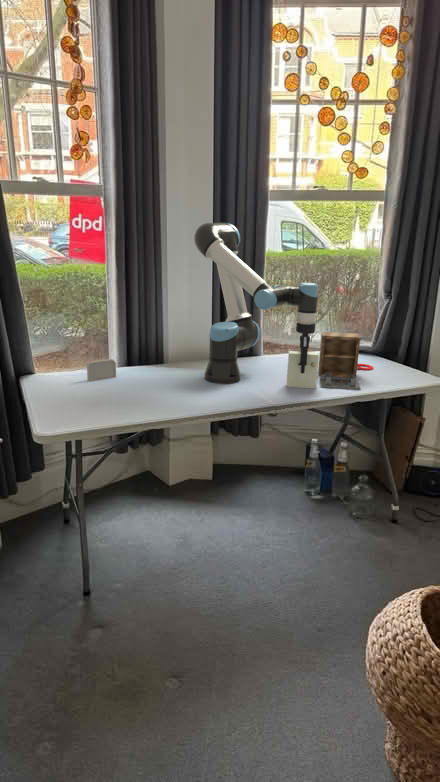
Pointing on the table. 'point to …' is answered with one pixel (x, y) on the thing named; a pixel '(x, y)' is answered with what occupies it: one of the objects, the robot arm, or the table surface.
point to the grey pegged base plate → (339, 382)
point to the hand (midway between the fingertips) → (301, 378)
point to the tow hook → (364, 365)
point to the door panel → (294, 370)
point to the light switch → (101, 369)
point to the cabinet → (338, 354)
